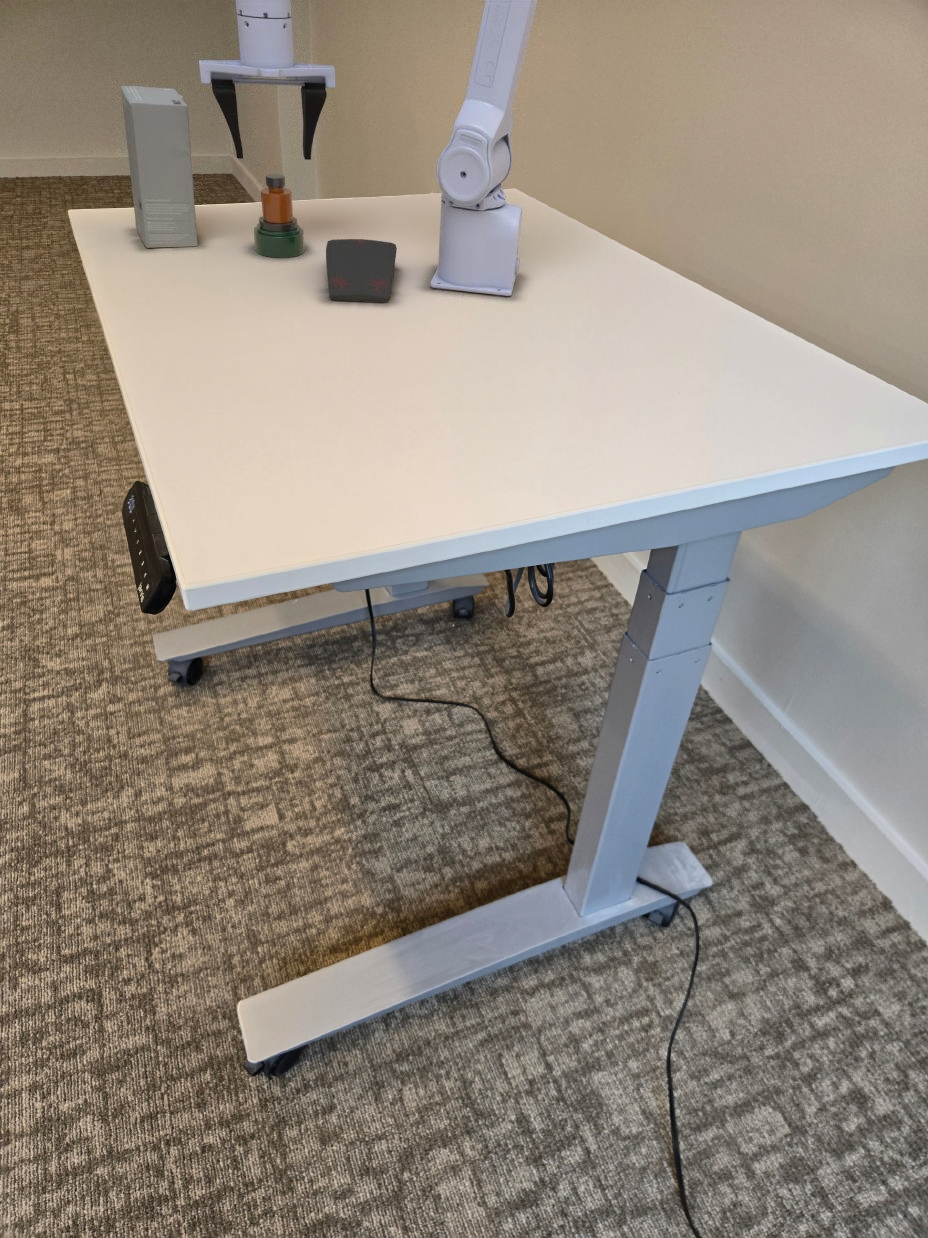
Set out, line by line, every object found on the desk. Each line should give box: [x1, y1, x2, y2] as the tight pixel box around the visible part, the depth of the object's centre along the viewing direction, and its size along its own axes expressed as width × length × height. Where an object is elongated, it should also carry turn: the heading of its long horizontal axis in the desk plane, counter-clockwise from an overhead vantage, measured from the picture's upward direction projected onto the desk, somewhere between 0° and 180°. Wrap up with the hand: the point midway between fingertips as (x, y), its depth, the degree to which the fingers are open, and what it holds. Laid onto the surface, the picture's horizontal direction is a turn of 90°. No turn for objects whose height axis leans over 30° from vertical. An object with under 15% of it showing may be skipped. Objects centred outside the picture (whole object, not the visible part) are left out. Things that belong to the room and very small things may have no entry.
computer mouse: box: [325, 238, 398, 303], centre depth 99 cm, size 8×14×4 cm, turn 3°
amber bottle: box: [260, 173, 294, 224], centre depth 104 cm, size 4×4×5 cm
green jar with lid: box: [253, 215, 306, 259], centre depth 106 cm, size 6×6×4 cm
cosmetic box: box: [120, 85, 199, 249], centre depth 103 cm, size 8×7×16 cm
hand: (273, 157), depth 101 cm, fingers open, 7 cm apart
